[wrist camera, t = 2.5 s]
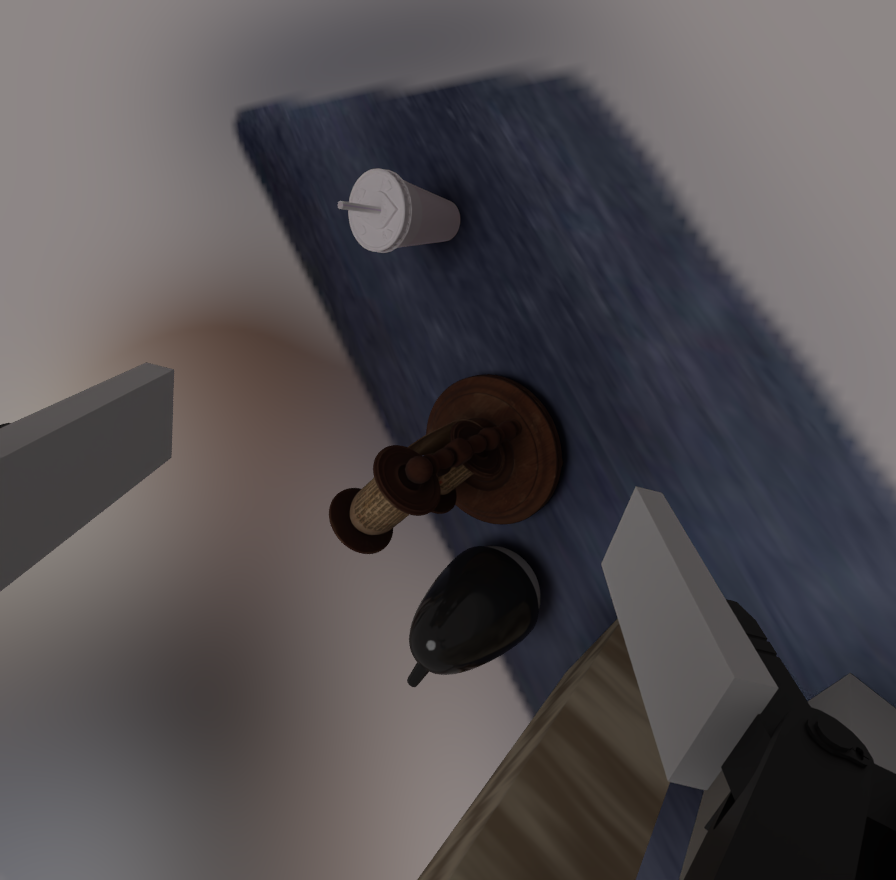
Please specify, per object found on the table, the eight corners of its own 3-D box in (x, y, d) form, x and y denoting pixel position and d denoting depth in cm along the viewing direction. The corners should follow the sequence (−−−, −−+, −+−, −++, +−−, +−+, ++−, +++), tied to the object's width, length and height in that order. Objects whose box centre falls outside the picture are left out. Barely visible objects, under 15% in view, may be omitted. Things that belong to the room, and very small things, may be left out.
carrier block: (850, 672, 40) (851, 920, 25) (962, 760, 37) (1043, 1102, 22) (710, 766, 48) (646, 995, 33) (793, 843, 46) (766, 1133, 30)
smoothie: (471, 256, 50) (367, 250, 39) (418, 256, 54) (308, 250, 43) (473, 181, 48) (364, 153, 38) (418, 186, 52) (304, 162, 41)
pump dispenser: (456, 579, 61) (363, 651, 49) (492, 513, 56) (397, 576, 44) (527, 642, 57) (444, 736, 46) (572, 577, 52) (491, 665, 40)
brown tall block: (632, 602, 49) (424, 916, 25) (709, 669, 46) (558, 1095, 22) (566, 672, 55) (347, 976, 31) (630, 734, 52) (445, 1121, 28)
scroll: (506, 340, 50) (352, 368, 35) (600, 469, 48) (480, 562, 32) (418, 426, 59) (265, 478, 44) (493, 538, 57) (359, 636, 41)
